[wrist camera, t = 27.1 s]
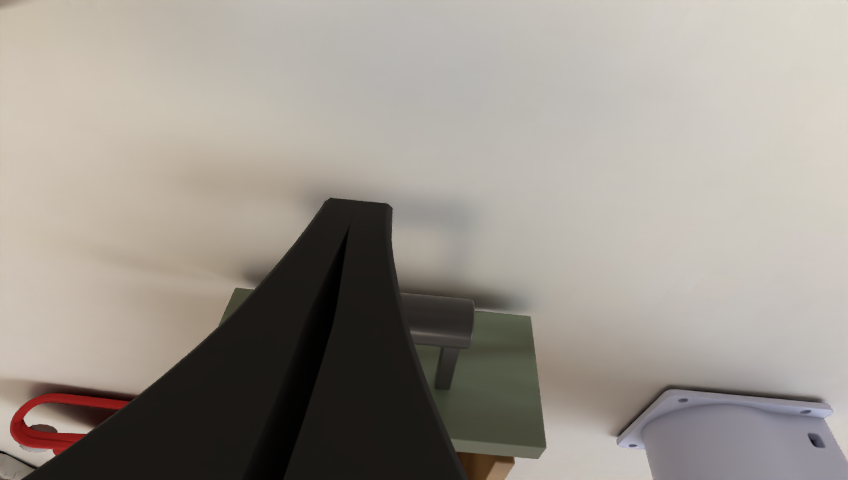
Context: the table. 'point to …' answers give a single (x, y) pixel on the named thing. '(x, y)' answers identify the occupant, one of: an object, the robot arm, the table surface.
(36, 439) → the tracker holder
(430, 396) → the robot arm
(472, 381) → the drawer
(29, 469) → the packaged product
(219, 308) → the table surface
